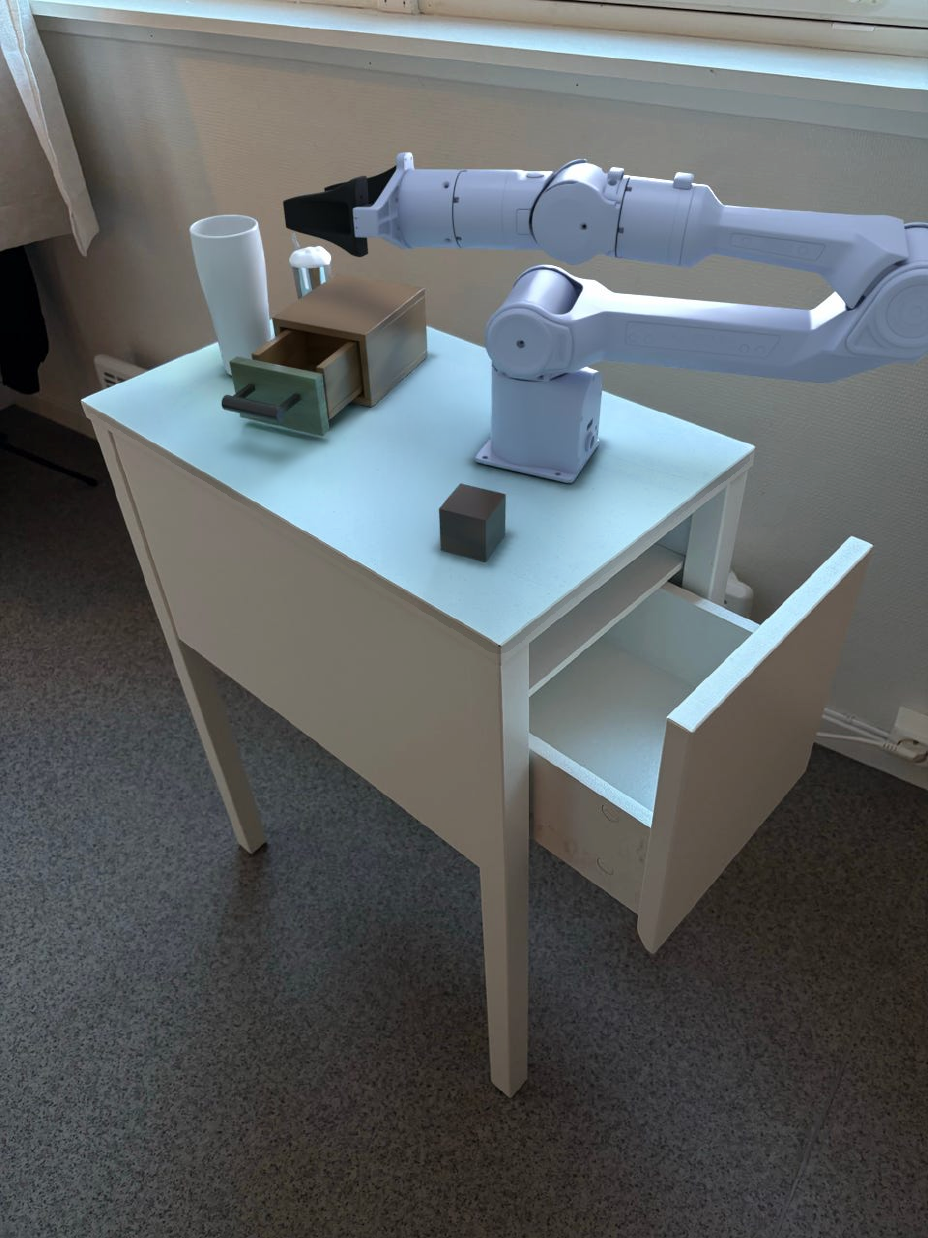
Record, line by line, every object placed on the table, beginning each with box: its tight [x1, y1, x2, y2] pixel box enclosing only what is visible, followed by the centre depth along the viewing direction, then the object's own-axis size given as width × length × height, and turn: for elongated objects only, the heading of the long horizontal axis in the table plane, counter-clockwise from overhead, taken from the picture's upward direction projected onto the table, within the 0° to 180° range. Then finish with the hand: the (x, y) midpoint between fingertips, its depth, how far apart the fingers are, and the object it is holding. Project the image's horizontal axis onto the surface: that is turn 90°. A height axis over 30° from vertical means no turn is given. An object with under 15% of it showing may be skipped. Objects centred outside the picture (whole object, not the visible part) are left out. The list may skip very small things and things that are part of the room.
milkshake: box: [288, 232, 332, 300], centre depth 103 cm, size 5×5×10 cm
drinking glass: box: [188, 214, 272, 377], centre depth 94 cm, size 7×7×15 cm
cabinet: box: [271, 273, 429, 408], centre depth 95 cm, size 13×11×8 cm
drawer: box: [221, 328, 364, 437], centre depth 88 cm, size 16×9×6 cm, turn 155°
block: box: [438, 482, 507, 563], centre depth 73 cm, size 4×4×4 cm
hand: (307, 206), depth 76 cm, fingers open, 7 cm apart
